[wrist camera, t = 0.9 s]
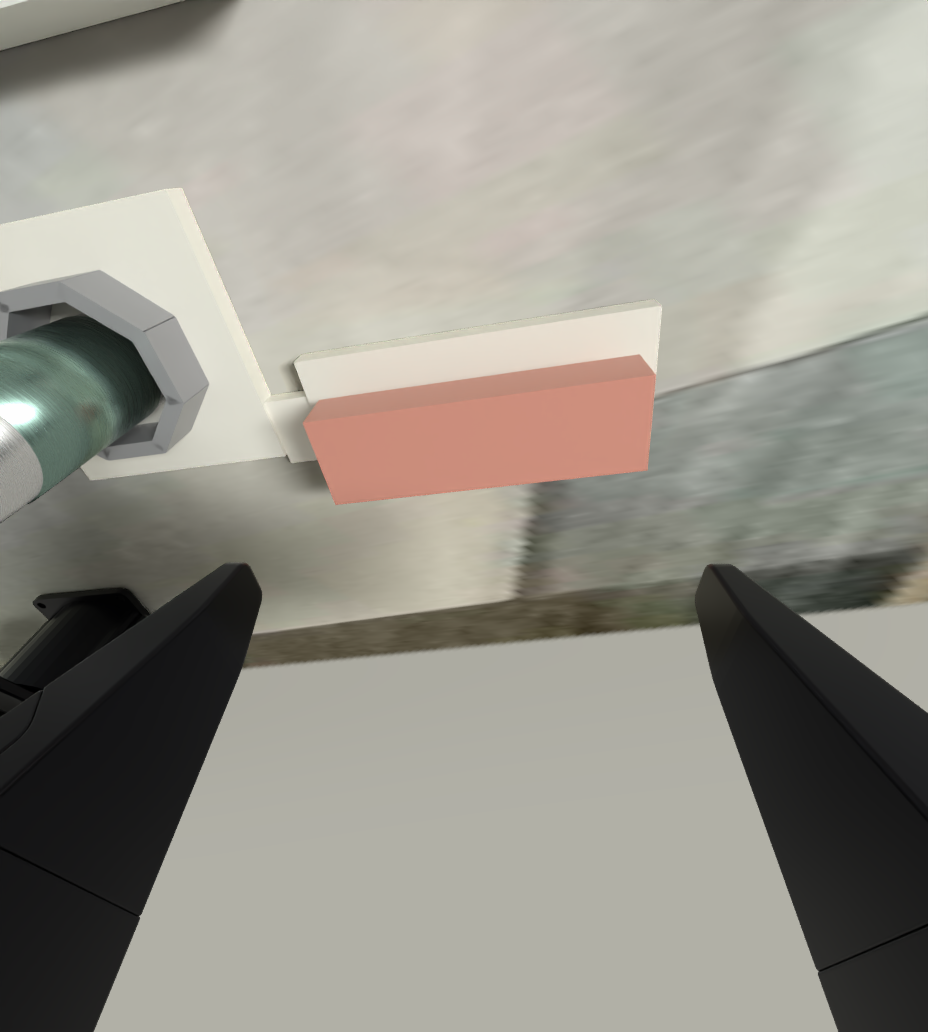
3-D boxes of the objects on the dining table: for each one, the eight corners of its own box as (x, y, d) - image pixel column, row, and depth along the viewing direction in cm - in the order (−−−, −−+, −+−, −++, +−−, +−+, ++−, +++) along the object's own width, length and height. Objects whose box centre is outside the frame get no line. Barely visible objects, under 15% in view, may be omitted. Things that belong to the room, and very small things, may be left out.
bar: (347, 477, 20) (335, 504, 18) (319, 399, 18) (302, 422, 16) (633, 444, 18) (647, 470, 17) (639, 354, 16) (655, 374, 15)
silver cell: (107, 416, 20) (-135, 576, 12) (40, 318, 18) (-314, 440, 10) (193, 403, 20) (-3, 562, 12) (136, 300, 17) (-156, 414, 9)
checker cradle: (128, 502, 24) (89, 539, 22) (-64, 240, 17) (-154, 252, 15) (642, 441, 21) (662, 477, 18) (671, 82, 14) (709, 65, 11)
